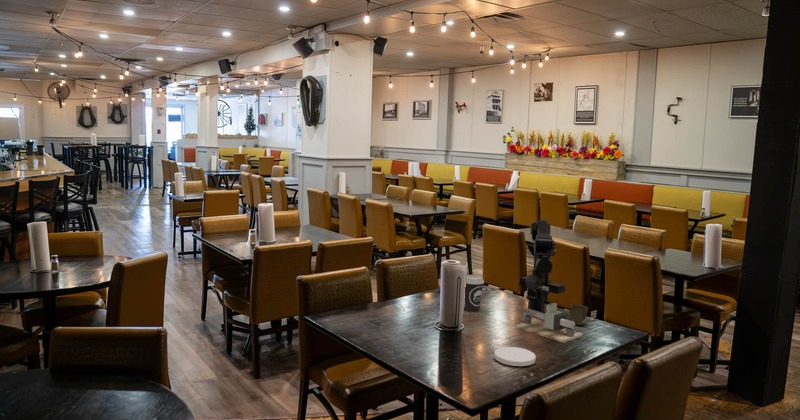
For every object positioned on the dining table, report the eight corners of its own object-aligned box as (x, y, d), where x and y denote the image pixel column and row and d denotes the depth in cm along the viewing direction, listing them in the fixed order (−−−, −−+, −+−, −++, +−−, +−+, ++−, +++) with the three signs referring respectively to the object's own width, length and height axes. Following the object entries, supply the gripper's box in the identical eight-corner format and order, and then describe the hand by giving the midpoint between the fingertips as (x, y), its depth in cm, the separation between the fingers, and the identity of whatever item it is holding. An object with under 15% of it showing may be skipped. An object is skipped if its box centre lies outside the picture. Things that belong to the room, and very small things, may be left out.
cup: (583, 328, 236) (584, 309, 235) (565, 324, 240) (566, 306, 239) (589, 324, 242) (590, 306, 241) (572, 320, 246) (573, 302, 245)
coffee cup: (482, 307, 262) (483, 275, 260) (483, 313, 253) (484, 280, 251) (461, 306, 263) (462, 274, 261) (461, 312, 254) (462, 279, 252)
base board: (514, 327, 235) (514, 324, 235) (533, 321, 244) (533, 318, 244) (564, 342, 218) (564, 340, 218) (582, 335, 227) (582, 333, 227)
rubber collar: (553, 329, 225) (554, 314, 225) (561, 326, 229) (562, 312, 229) (557, 331, 224) (558, 316, 223) (566, 328, 228) (567, 313, 227)
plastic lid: (515, 372, 189) (516, 364, 189) (485, 358, 201) (486, 351, 200) (543, 363, 197) (544, 356, 197) (513, 351, 209) (513, 344, 208)
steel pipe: (523, 322, 238) (523, 308, 237) (527, 321, 240) (528, 307, 239) (570, 337, 222) (571, 321, 221) (574, 335, 224) (575, 320, 223)
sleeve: (544, 327, 228) (545, 305, 227) (553, 324, 232) (554, 302, 231) (553, 329, 225) (554, 307, 224) (561, 326, 229) (563, 304, 228)
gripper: (511, 266, 232) (509, 303, 234) (551, 275, 219) (548, 314, 221) (527, 262, 240) (525, 299, 242) (567, 271, 226) (564, 309, 228)
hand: (540, 305), depth 233 cm, fingers closed
